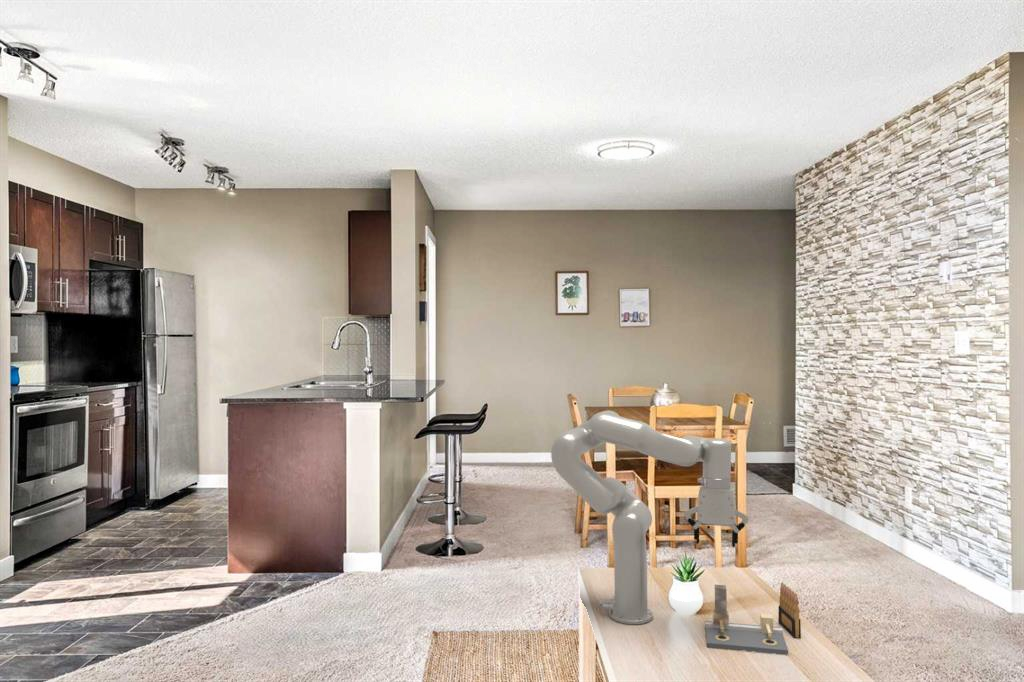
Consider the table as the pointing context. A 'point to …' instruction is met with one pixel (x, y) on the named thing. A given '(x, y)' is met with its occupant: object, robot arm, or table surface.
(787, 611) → the ammunition clip
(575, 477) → the robot arm
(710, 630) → the hole plate
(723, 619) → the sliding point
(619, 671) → the table surface
